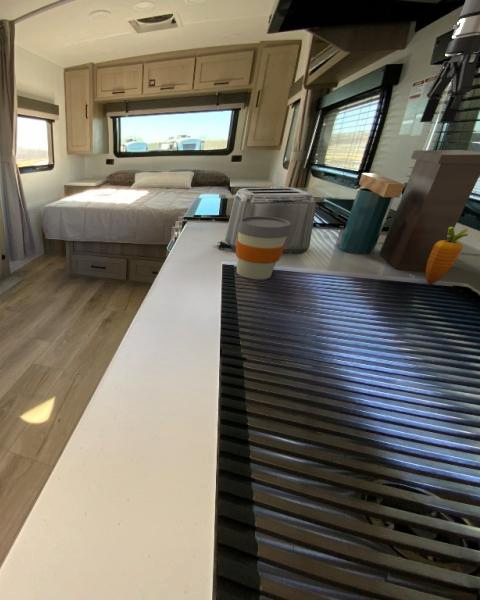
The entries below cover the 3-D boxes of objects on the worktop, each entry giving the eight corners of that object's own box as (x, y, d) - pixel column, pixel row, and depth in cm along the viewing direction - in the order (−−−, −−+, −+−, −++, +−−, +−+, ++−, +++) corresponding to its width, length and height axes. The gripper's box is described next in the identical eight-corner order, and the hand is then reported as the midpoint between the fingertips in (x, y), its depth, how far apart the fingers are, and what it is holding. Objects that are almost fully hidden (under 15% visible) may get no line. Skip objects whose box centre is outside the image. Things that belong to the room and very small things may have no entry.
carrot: (440, 282, 85) (469, 225, 78) (445, 290, 82) (476, 230, 75) (414, 279, 88) (440, 223, 81) (418, 286, 84) (446, 228, 77)
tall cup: (373, 248, 109) (395, 189, 101) (372, 256, 103) (397, 193, 94) (339, 244, 114) (358, 187, 106) (337, 251, 108) (357, 191, 100)
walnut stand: (374, 252, 106) (413, 150, 93) (414, 255, 103) (461, 149, 89) (392, 270, 93) (441, 154, 80) (439, 274, 90) (499, 154, 76)
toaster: (317, 256, 105) (336, 194, 96) (220, 254, 110) (229, 195, 101) (295, 240, 120) (310, 185, 111) (210, 240, 124) (218, 187, 116)
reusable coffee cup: (272, 266, 99) (284, 216, 92) (283, 283, 88) (298, 228, 81) (227, 264, 102) (236, 215, 95) (232, 280, 91) (242, 226, 85)
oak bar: (358, 184, 110) (362, 173, 109) (371, 184, 109) (375, 173, 108) (383, 197, 91) (388, 183, 89) (399, 197, 90) (404, 184, 88)
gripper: (431, 47, 105) (404, 122, 115) (476, 28, 85) (438, 122, 95) (463, 43, 102) (432, 121, 112) (517, 24, 82) (474, 121, 92)
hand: (435, 122), depth 103 cm, fingers open, 13 cm apart
